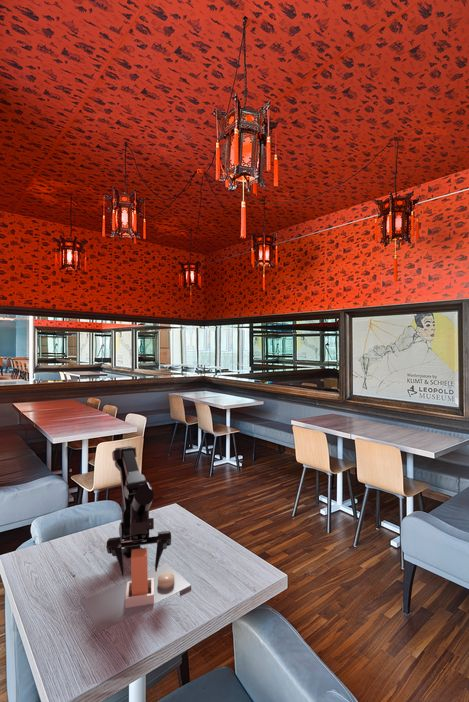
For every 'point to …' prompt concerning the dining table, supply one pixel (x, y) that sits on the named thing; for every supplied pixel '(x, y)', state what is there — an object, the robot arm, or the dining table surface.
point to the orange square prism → (139, 572)
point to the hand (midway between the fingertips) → (139, 573)
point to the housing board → (116, 599)
